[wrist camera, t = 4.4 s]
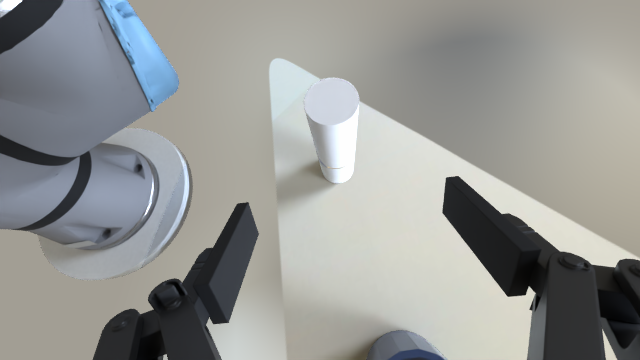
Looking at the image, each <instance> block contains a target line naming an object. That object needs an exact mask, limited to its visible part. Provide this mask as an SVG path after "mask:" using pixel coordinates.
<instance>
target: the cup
mask: <svg viewBox="0 0 640 360" xmlns="http://www.w3.org/2000/svg"><path fill="white" fill-rule="evenodd" d="M366 360H448V359H447V358H446V357H445V356H444V355H443V354H442V353H441V352H440V351H439V350H438V349H437V348H436V347H434V346H433V345H432V344H431V343H430V342H428V341H427V340H426V339H425V338H423V337H422V336H420V335H418V334H416V333H413V332H410V331H404V330H398V331H392V332H389V333H386V334H385V335H383V336H381V337H380V338H379V339H378V340H377V341H376V342H375V343H374V344H373V346H372V347H371V349H370V351H369V353H368V356H367V359H366Z"/></svg>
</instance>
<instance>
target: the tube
mask: <svg viewBox="0 0 640 360" xmlns="http://www.w3.org/2000/svg"><path fill="white" fill-rule="evenodd" d="M304 108H305V112H306V116H307V119H308V123H309V127H310V130H311V134H312V137H313V141H314V145H315V148H316V152H317V155H318V159H319V163H320V166H321V170H322V173H323V175H324V177H325V178H326V179H327V180H328V181H330V182H332V183H342V182H345V181H347V180H348V179H349V178H350V177H351V175H352V173H353V168H354V156H355V145H356V133H357V121H358V109H359V95H358V92H357V90H356V88H355V87H354V86H353V85H352V84H351V83H350V82H348V81H346V80H344V79H341V78H325V79H322V80H320V81H318V82H316V83H315V84H313V85H312V86H311V87H310V88H309V89H308V91H307V92H306V94H305V97H304Z"/></svg>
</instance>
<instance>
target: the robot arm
mask: <svg viewBox="0 0 640 360" xmlns="http://www.w3.org/2000/svg"><path fill="white" fill-rule="evenodd" d="M178 85H179V80H178V75H177V73H176V72H175V70H174V68H173V67H172V66H171V64H170V63H169V61H168V60H167V58H166V57H165V55H164V54H163V52H162V51H161V49H160V48H159V46H158V45H157V43H156V42H155V41H154V39H153V38H152V36H151V35H150V33H149V32H148V30H147V29H146V28H145V26H144V25H143V23H142V22H141V20H140V19H139V17H138V16H137V14H136V13H135V11H134V10H133V8H132V7H131V6H130V4H129V3H128V1H127V0H0V229H12V230H23V231H30V232H32V233H34V234H37V235H40V236H42V237H45V238H47V239H50V240H52V241H55V242H57V243H60V244H62V246H65V247H67V248H70V249H74V248H75V249H80V250H105V249H109V248H112V247H115V246H118V245H120V244H122V243H124V242H125V241H127V240H128V239H130V238H131V237H132V236H134V235H135V234H136V233H137V232H138V231H139V230H140V229H141V228H142V227H143V226H144V225H145V223H146V222H147V221H148V219H149V218H150V216H151V214H152V212H153V210H154V208H155V206H156V203H157V200H158V196H159V189H160V182H159V175H158V172H157V169H156V167H155V166H154V164H153V163H152V161H151V160H150V159H149V158H148V157H146V156H145V155H143V154H142V153H140V152H138V151H136V150H134V149H131V148H128V147H125V146H121V145H114V144H108V143H101V142H103V141H105V140H106V139H108V138H109V137H111V136H112V135H114V134H115V133H117V132H119V131H120V130H122V129H123V128H125V127H126V126H128V125H130V124H131V123H133V122H134V121H136V120H137V119H139V118H141V117H142V116H144V115H145V114H147V113H148V112H150V111H151V112H153V111H154V110H155V109H156V106H158V105H159V104H160V103H162V102H163V101H164V100H166V99H167V98H169V97H170V96H171V95H173V94H174V93H175V92H176V91H177V89H178ZM442 213H443V214H444V215H445V217H446V218H447V219H448V220H449V222H450V223H451V224H452V226H453V227H454V228H455V229H456V231H457V232H458V233H459V235H460V236H461V237H462V238H463V240H464V241H465V242H466V244H467V245H468V246H469V247H470V249H471V250H472V251H473V253H474V254H475V255H476V256H477V258H478V259H479V260H480V262H481V263H482V264H483V265H484V267H485V268H486V269H487V271H488V272H489V273H490V274H491V276H492V277H493V278H494V280H495V281H496V282H497V283H498V285H499V286H500V287H501V289H502V290H503V291H504V292H505V294H506V295H507V296H508V297H510V296H521V295H526V292H527V289H528V287H529V286H530V287H531V289H532V290H533V291H534V292H535V293H536V294H535V296H534V299H533V302H532V304H531V307H530V309H529V310H532V319H531V328H530V337H529V347H528V356H527V360H606V358H605V350H604V341H603V333H602V329H603V331H604V333H605V335H606V337H607V339H608V341H609V343H610V345H611V347H612V349H613V351H614V353H615V356H616V358H617V360H640V261H639V260H635V259H623V260H620V261H619V262H618V263H617V265H616V267H615V268H614V267H606V266H597V265H591V264H590V263H589V262H588V261H587V260H585V259H583V258H582V257H580V256H577V255H574V254H572V253H567V252H560V251H559V250H558V249H556V248H555V247H554V246H553V245H551V244H550V243H549V242H548V241H547V240H545V239H544V238H543V237H542V236H540V235H539V234H538V233H537V232H535V231H534V230H533V229H532V228H531V227H528V225H527V224H526V223H525V222H523V221H522V220H521V219H519V218H517V217H515V216H513V215H511V214H501V213H500V212H499V211H498V210H496V209H495V208H494V207H493V206H492V205H491V204H490V203H488V202H487V201H486V200H485V199H484V198H483V197H482V196H480V195H479V194H478V193H477V192H476V191H475V190H474V189H472V188H471V187H470V186H469V185H468V184H467V183H466V182H464V181H463V180H462V179H461V178H460V177H459V176H455V177H447V178H446V183H445V193H444V202H443V212H442ZM258 235H259V233H258V231H257V227H256V224H255V221H254V218H253V215H252V212H251V209H250V206H249V203H248V202H247V203H239V204H237V205H236V207H235V209H234V211H233V213H232V214H231V216H230V218H229V220H228V222H227V223H226V225H225V227H224V229H223V231H222V233H221V234H220V236H219V238H218V240H217V242H216V243H215V245H214V247H213V248H206V249H205V250H204V251H203V252H202V253H201V254H200V255H199V256H198V258H197V259H196V261H195V264H194V265H193V266H192V268H191V270H190V271H189V273H188V275H187V276H186V278H185V279H184V281H183V283H182V282H181V281H180V280H179V279H170V280H167V281H164V282H162V283H161V284H159V285H158V286H157V287H155V288H154V289H153V290H152V291H151V293H150V295H149V297H148V301H149V303H150V304H151V306H152V307H153V309H154V310H152V311H149V312H146V313H143V314H139V312H138V311H137V310H135V309H129V310H125V311H123V312H121V313H119V314H117V315H116V316H115V317H114V318H112V319H111V320H110V321H109V322H108V323H107V324H106V325H105V327H104V329H103V331H102V334H101V337H100V340H99V343H98V346H97V348H96V352H95V354H94V357H93V360H163V355H165V354H167V357H168V360H222V359H221V357H220V355H219V352H218V350H217V348H216V346H215V343H214V341H213V339H212V336H211V334H210V333H209V330H208V328H207V326H206V323H207V321H208V319H209V317H210V319H211V321H212V323H213V324H220V323H229V320H230V317H231V314H232V311H233V307H234V305H235V302H236V299H237V296H238V293H239V290H240V288H241V285H242V282H243V278H244V276H245V273H246V270H247V267H248V264H249V261H250V258H251V255H252V252H253V249H254V246H255V243H256V240H257V237H258Z"/></svg>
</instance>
